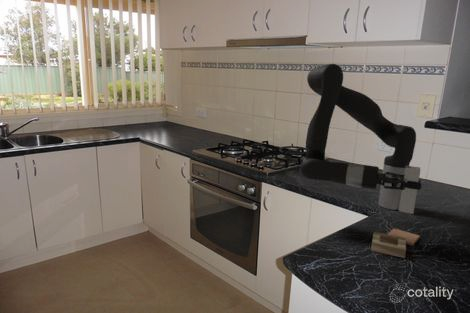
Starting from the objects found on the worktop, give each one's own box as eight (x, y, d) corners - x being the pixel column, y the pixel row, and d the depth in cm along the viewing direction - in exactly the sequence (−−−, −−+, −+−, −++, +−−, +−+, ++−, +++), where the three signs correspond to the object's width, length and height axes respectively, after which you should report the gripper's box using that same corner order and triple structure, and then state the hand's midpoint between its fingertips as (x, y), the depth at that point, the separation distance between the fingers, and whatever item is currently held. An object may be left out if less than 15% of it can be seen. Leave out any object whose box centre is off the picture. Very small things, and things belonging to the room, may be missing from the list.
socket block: (372, 239, 112) (373, 231, 111) (404, 245, 108) (405, 238, 108) (370, 250, 104) (371, 242, 103) (404, 258, 100) (406, 249, 100)
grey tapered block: (399, 207, 115) (405, 165, 112) (412, 210, 113) (419, 167, 110) (399, 211, 111) (405, 167, 108) (413, 213, 110) (420, 169, 107)
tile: (393, 230, 120) (393, 228, 119) (419, 237, 114) (419, 235, 114) (385, 237, 113) (386, 235, 113) (412, 245, 108) (413, 243, 108)
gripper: (361, 169, 109) (424, 177, 102) (365, 161, 122) (421, 168, 115) (358, 192, 110) (420, 202, 104) (362, 182, 123) (417, 190, 116)
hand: (420, 184), depth 109 cm, fingers closed on grey tapered block, 4 cm apart
